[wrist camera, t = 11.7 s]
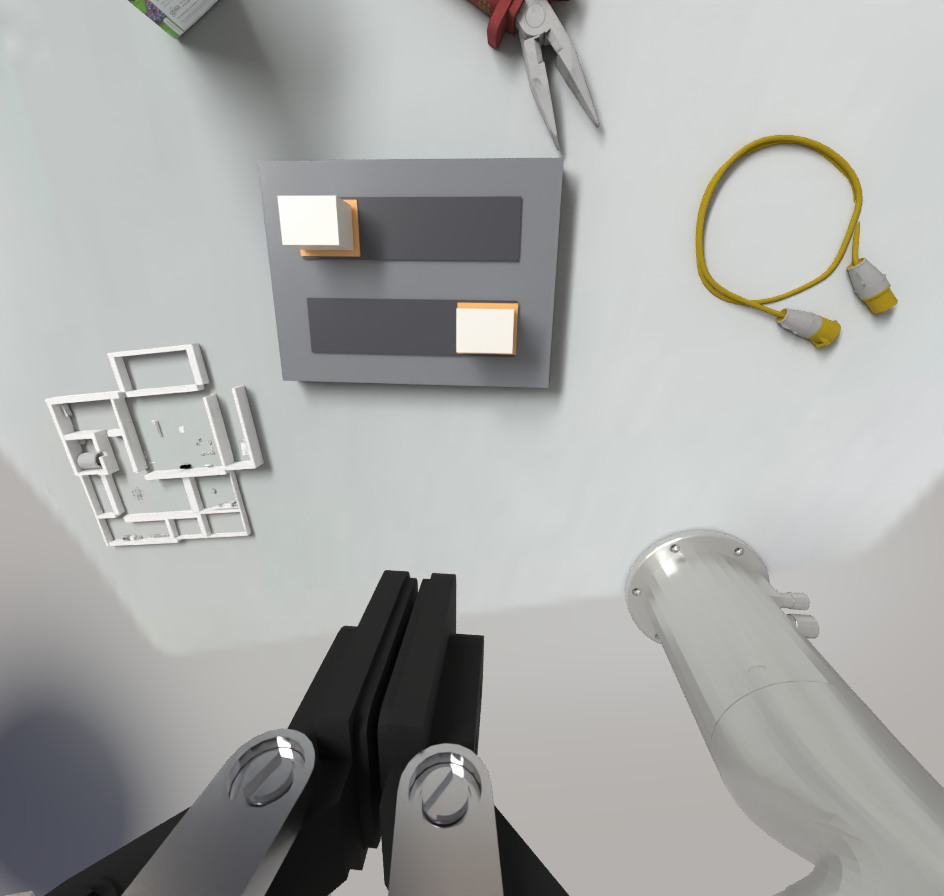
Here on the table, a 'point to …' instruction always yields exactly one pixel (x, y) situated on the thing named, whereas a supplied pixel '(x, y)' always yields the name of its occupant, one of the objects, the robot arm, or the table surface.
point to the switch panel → (417, 269)
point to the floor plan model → (87, 462)
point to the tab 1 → (316, 222)
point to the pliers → (539, 50)
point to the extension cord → (861, 271)
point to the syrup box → (174, 13)
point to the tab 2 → (484, 330)
